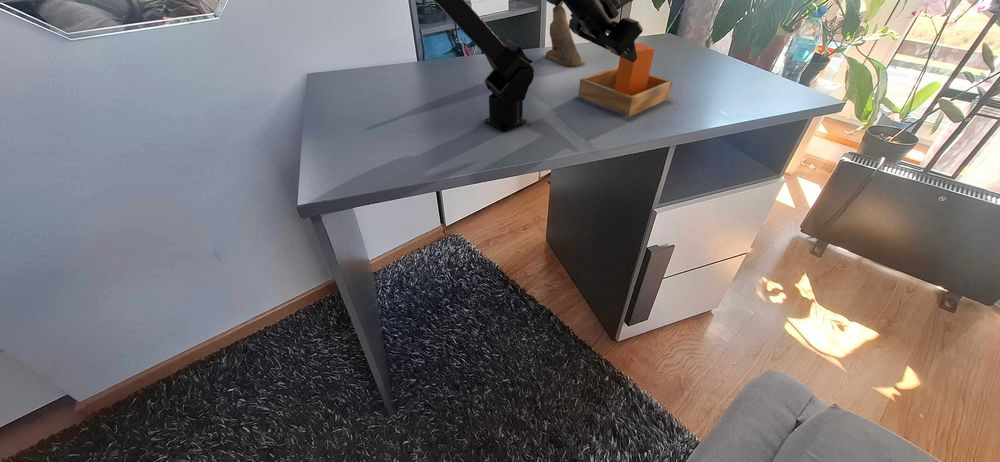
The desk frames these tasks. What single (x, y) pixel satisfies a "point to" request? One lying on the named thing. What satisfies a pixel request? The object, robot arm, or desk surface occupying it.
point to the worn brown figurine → (562, 40)
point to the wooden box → (603, 93)
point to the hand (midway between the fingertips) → (622, 53)
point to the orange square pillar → (635, 71)
